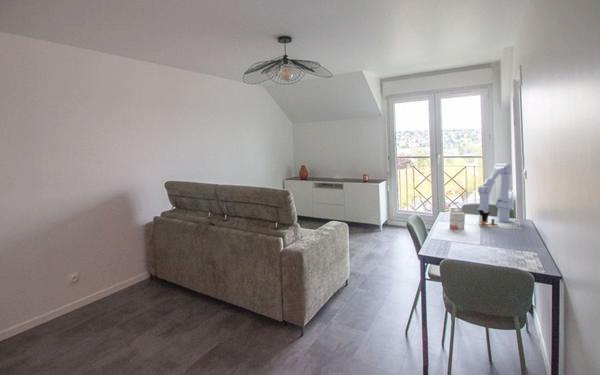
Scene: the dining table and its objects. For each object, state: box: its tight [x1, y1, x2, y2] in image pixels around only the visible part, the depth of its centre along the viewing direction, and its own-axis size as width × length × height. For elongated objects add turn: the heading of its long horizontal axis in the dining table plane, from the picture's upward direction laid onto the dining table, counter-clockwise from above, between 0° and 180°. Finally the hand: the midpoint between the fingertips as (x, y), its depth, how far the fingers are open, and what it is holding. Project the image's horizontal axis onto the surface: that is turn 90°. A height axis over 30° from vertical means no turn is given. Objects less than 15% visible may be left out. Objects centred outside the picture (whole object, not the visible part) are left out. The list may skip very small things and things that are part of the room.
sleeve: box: [478, 214, 489, 223], centre depth 237 cm, size 5×6×5 cm
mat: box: [495, 222, 513, 227], centre depth 236 cm, size 9×9×1 cm
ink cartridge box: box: [449, 207, 466, 230], centre depth 231 cm, size 9×5×15 cm, turn 84°
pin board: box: [477, 218, 500, 228], centre depth 236 cm, size 10×12×5 cm
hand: (483, 220), depth 237 cm, fingers closed on sleeve, 5 cm apart
